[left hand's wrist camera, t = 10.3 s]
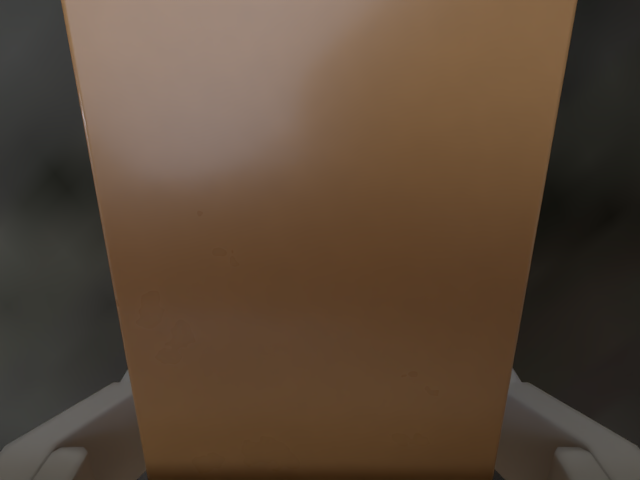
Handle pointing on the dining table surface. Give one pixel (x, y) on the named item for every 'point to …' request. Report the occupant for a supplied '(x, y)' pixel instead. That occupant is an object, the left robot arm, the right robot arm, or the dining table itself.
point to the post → (319, 224)
